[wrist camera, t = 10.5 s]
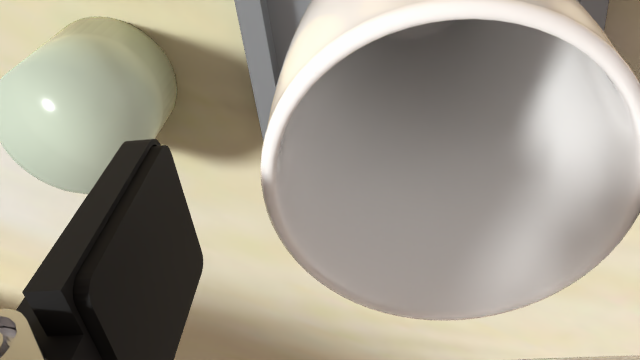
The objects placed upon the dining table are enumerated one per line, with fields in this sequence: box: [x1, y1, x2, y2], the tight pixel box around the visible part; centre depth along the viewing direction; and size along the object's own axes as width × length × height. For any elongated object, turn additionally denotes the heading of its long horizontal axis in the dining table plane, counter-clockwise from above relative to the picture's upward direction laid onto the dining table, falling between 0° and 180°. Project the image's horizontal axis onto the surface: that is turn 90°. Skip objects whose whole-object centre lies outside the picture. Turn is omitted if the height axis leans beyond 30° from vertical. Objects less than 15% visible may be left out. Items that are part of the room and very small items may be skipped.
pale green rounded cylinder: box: [0, 17, 177, 194], centre depth 25 cm, size 6×6×5 cm
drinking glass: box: [261, 0, 640, 320], centre depth 16 cm, size 7×7×15 cm
